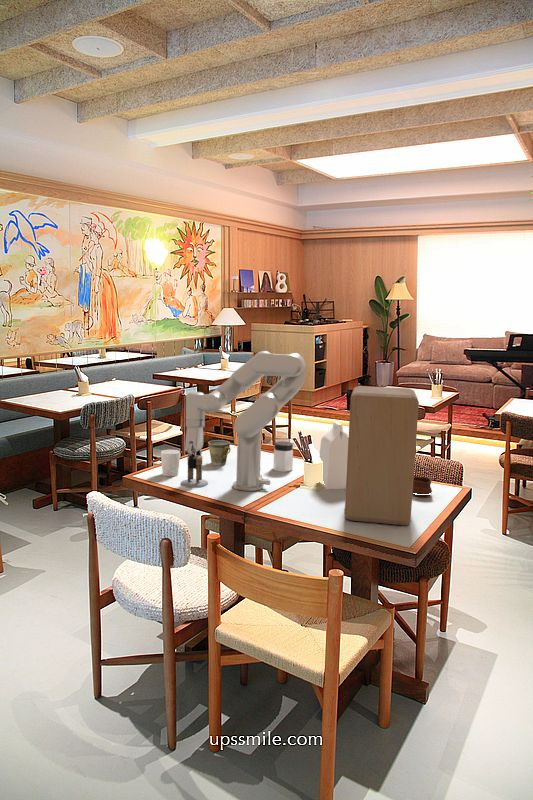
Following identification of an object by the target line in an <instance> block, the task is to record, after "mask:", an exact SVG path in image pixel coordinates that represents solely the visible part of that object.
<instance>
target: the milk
mask: <svg viewBox="0 0 533 800" xmlns="http://www.w3.org/2000/svg"><path fill="white" fill-rule="evenodd" d="M348 438H349V433H347V432H346V431H345V430H344V429H343V424H342V423H340V422H339V421H338V422H337V421H334V422H333V425H332V428H330V430H329V431H327V432H326V433H325V434H324V435H323V436H322V437H321V439H320V447H319V449H320V450H319V457H320V458H321V460H322V461H323V481H324V484H325V485H324V484H323V485H321V486H322V487H323V488H324V489H325V490H338V489H339V490H343V489H344V490H346V477H347V458H348Z"/></svg>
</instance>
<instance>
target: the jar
mask: <svg viewBox="0 0 533 800" xmlns="http://www.w3.org/2000/svg"><path fill="white" fill-rule="evenodd" d="M293 444H294V443H292V442H291V441H283V440H282V441H276V442H275V443H274V446H273V447H274V448H273V470H274V471H275V472H284V473H287V472H290V471H293V467H294V466H293V463H294V461H293V460H294V450H293V448H294V447H293Z"/></svg>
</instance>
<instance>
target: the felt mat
mask: <svg viewBox="0 0 533 800" xmlns="http://www.w3.org/2000/svg"><path fill="white" fill-rule="evenodd" d="M208 484H209V482H208V480H205V479H202V480H199V482H198V483H197V482H196V478H193V479H191V482H188V478H187V479H184V480H182V481H181V482H180V485H181V486H182V487H185V488H203V487H207V485H208Z"/></svg>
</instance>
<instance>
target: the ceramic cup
mask: <svg viewBox="0 0 533 800" xmlns="http://www.w3.org/2000/svg"><path fill="white" fill-rule="evenodd" d="M207 445H208V451H209V456H210V457H209V458H210V461H211V462H210V463H211V464H212V465H214V466H224V465H226V464H227V458H228V454H229V453H230V452H231V442H230V441H228V440H223V439H215V440H210V441H208V442H207Z"/></svg>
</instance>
